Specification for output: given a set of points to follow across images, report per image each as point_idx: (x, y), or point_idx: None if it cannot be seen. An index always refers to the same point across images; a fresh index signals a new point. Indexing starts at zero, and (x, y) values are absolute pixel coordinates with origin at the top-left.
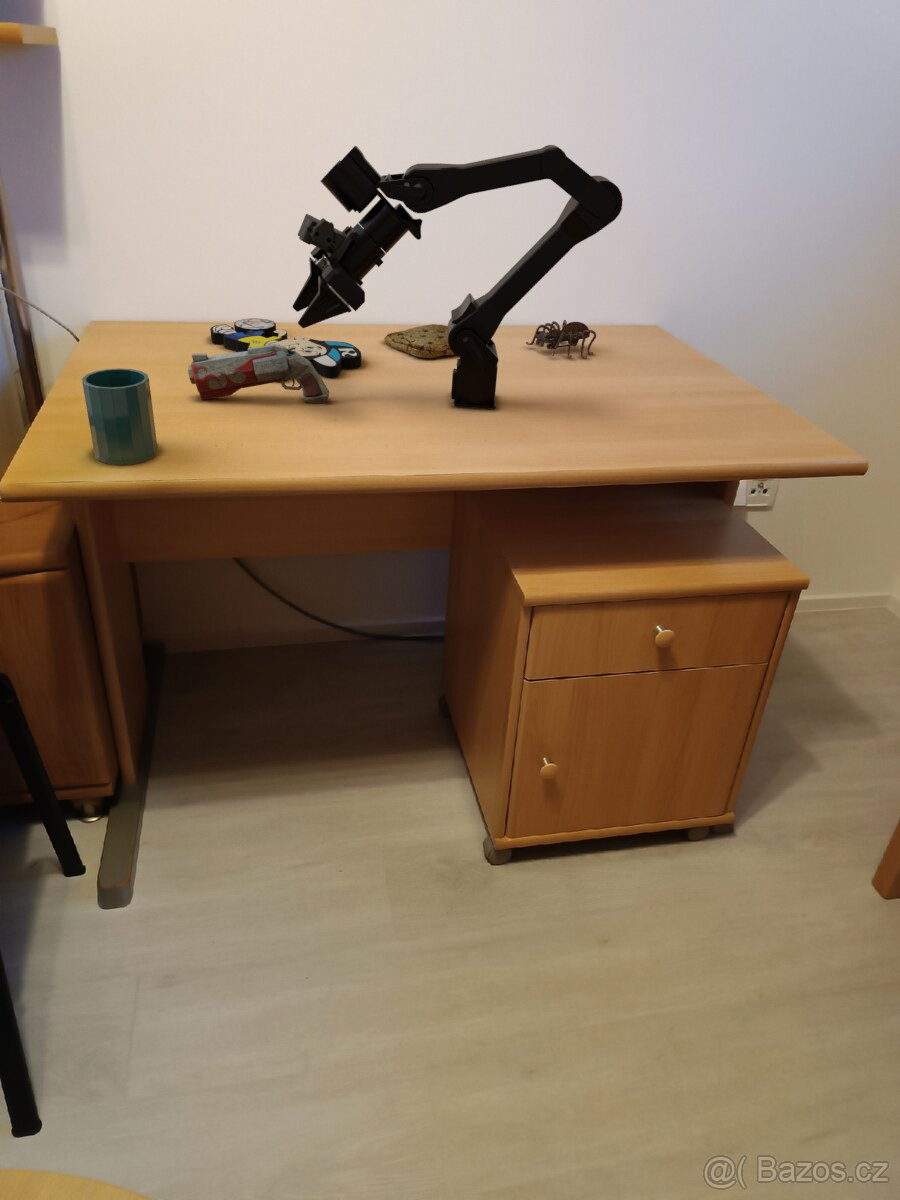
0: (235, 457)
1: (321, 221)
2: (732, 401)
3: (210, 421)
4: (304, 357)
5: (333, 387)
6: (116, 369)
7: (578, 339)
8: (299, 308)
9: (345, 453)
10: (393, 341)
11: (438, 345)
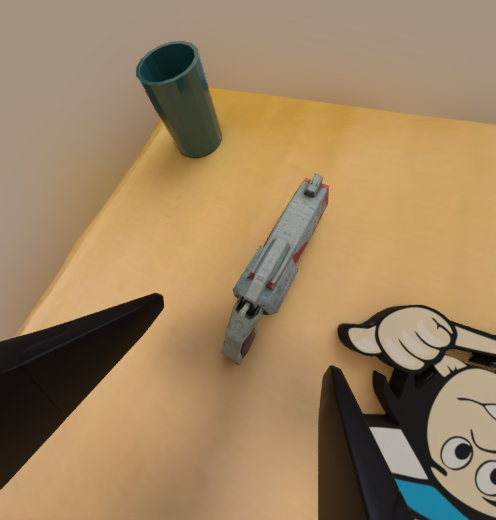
0: (148, 204)
1: None
2: None
3: (234, 207)
4: (416, 416)
5: (288, 399)
6: (192, 62)
7: None
8: (324, 388)
9: (98, 293)
10: None
11: None
